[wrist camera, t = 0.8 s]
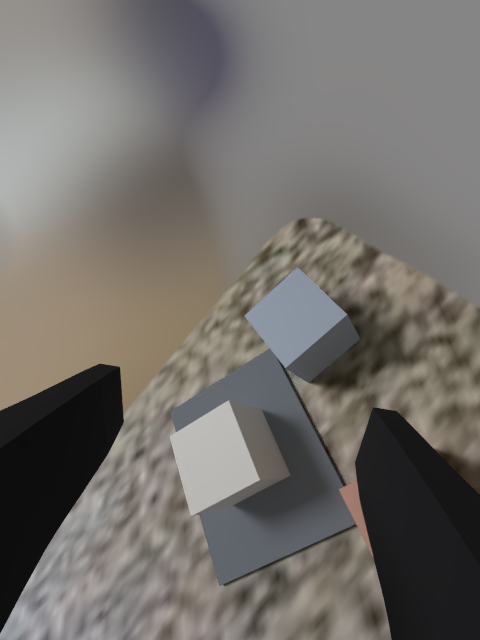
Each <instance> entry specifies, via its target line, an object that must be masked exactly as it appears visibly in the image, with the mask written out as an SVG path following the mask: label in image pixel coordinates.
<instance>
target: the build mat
mask: <svg viewBox="0 0 480 640" xmlns="http://www.w3.org/2000/svg"><path fill="white" fill-rule="evenodd" d="M228 400H229V401H233V402H237V403H240V404H244V405H247V406H251V407H254V408H258V409H261V410H262V412H263V414H264V416H265V418H266V421H267V423H268V425H269V427H270V430H271V432H272V434H273V436H274V439H275V441H276V443H277V445H278V448H279V450H280V452H281V454H282V457H283V459H284V461H285V463H286V466H287V468H288V470H289V472H290V475H291V476H289V477H287V478H285V479H283V480H281V481H279V482H277V483H275V484H273V485H271V486H269V487H267V488H266V489H264V490H262V491H260V492H258V493H256V494H254V495H252V496H250V497H248V498H246V499H244V500H242V501H240V502H239V503H237V504H235V505H233V506H229V507H225V508H221V509H217V510H213V511H210V512H206V513H202V514H199V515H200V518H201V522H202V525H203V529H204V532H205V536H206V539H207V543H208V547H209V550H210V554H211V557H212V561H213V564H214V568H215V571H216V575H217V578H218V582H219V586H221V585H223V584H225V583H227V582H229V581H232V580H234V579H236V578H238V577H240V576H243V575H245V574H247V573H249V572H251V571H254V570H256V569H258V568H260V567H262V566H265V565H267V564H269V563H271V562H273V561H276V560H278V559H280V558H282V557H284V556H287V555H289V554H291V553H293V552H295V551H298V550H300V549H302V548H304V547H306V546H309V545H311V544H313V543H315V542H317V541H320V540H322V539H324V538H326V537H328V536H331V535H333V534H335V533H337V532H339V531H342V530H344V529H346V528H348V527H351V526H353V525H355V524H356V523H355V521H354V519H353V517H352V515H351V513H350V511H349V509H348V507H347V505H346V503H345V501H344V499H343V497H342V495H341V493H340V491H339V489H340V488H343V487H344V485H343V483H342V481H341V479H340V477H339V475H338V473H337V471H336V469H335V467H334V465H333V463H332V462H331V460H330V458H329V456H328V454H327V452H326V450H325V448H324V446H323V444H322V442H321V440H320V438H319V437H318V435H317V433H316V431H315V429H314V427H313V425H312V423H311V421H310V419H309V417H308V415H307V413H306V412H305V410H304V408H303V406H302V404H301V402H300V400H299V398H298V396H297V394H296V392H295V390H294V388H293V387H292V385H291V383H290V381H289V379H288V377H287V375H286V373H285V371H284V369H283V367H282V365H281V363H280V362H279V360H278V358H277V357H276V356H275V354H274V353H273V352H272V350H271V349H268V350H267V351H265V352H263V353H262V354H260V355H259V356H257V357H256V358H254V359H252V360H251V361H249V362H248V363H246V364H245V365H243V366H241V367H240V368H238V369H237V370H235V371H234V372H232V373H230V374H229V375H227V376H226V377H224V378H223V379H221V380H219V381H218V382H216V383H215V384H213V385H211V386H210V387H208V388H207V389H205V390H204V391H202V392H200V393H199V394H197V395H196V396H194V397H193V398H191V399H189V400H188V401H186V402H185V403H183V404H182V405H180V406H178V407H177V408H175V409H174V410H172V411H171V415H172V419H173V422H174V426H175V429H176V432H178V431H179V430H181V429H183V428H184V427H186V426H187V425H189V424H191V423H192V422H194V421H196V420H197V419H199V418H200V417H202V416H204V415H205V414H207V413H209V412H210V411H212V410H214V409H215V408H217V407H218V406H220V405H222V404H223V403H225V402H227V401H228Z"/></svg>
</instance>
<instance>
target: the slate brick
mask: <svg viewBox="0 0 480 640" xmlns="http://www.w3.org/2000/svg"><path fill="white" fill-rule="evenodd" d="M245 317H246V319H247V320H248V321H249V322H250V324H251V325H252V326H253V327H254V329H255V330H256V331H257V333H258V334H259V335H260V336H261V338H262V339H263V340H264V342H265V343H266V344H267V345H268V347H269V348H270V349H271V350H272V352H273V353H274V354H275V356H276V357H277V358H278V359H279V361H280V362H281V363H282V364H283V366H284V367H285V368H286V369H288V370H289V371H291V372H292V373H294V374H295V375H297V376H299V377H300V378H302V379H303V380H305V381H306V382H308V383H310V382H311V381H312V380H313V379H314V378H315V377H317V376H318V375H319V374H320V373H321V372H323V371H324V370H325V369H326V368H327V367H328V366H330V365H331V364H332V363H333V362H334V361H335V360H337V359H338V358H339V357H340V356H341V355H343V354H344V353H345V352H346V351H347V350H348V349H350V348H351V347H352V346H353V345H354V344H355V343H357V342H358V341H359V340H360V337H359V335H358V333H357V332H356V330H355V328H354V326H353V324H352V322H351V320H350V318H349V317H348V315H347V314H346V313H345V312H344V311H343V310H342V309H341V308H340V307H339V306H338V305H337V304H336V303H335V302H334V301H333V300H332V299H330V298H329V297H328V296H327V295H326V294H325V293H324V292H323V291H322V290H321V289H320V288H319V287H318V286H317V285H316V284H315V283H314V282H313V281H311V280H310V279H309V278H308V277H307V276H306V275H305V274H304V273H303V272H302V271H301V270H300V269H299V268H298V267H297V268H296V269H295V270H294V271H293V272H292V273H291V274H290V275H289V276H287V277H286V278H285V279H284V280H283V281H282V282H281V283H280V284H279V285H278V286H277V287H275V288H274V289H273V290H272V291H271V292H270V293H269V294H268V295H267V296H266V297H265V298H263V299H262V300H261V301H260V302H259V303H258V304H257V305H256V306H255V307H254V308H253V309H251V310H250V311H249V312H248V313H247V314H246V315H245Z"/></svg>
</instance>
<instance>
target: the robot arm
mask: <svg viewBox="0 0 480 640" xmlns="http://www.w3.org/2000/svg"><path fill="white" fill-rule="evenodd" d="M123 422H124V419H123V406H122V390H121V376H120V367H117V366H111V365H104V364H98V365H96V366H93V367H91V368H89V369H87V370H85V371H83V372H80V373H78V374H76V375H75V376H72V377H70V378H68V379H66V380H64V381H62V382H60V383H58V384H56V385H54V386H52V387H50V388H48V389H46V390H44V391H42V392H40V393H38V394H36V395H34V396H32V397H29V398H27V399H26V400H23V401H21V402H19V403H17V404H14V405H13V406H10V407H8V408H5V409H3V410H1V411H0V633H1V631H2V629H3V627H4V625H5V623H6V621H7V620H8V618H9V616H10V614H11V612H12V610H13V608H14V606H15V604H16V602H17V600H18V599H19V597H20V595H21V593H22V591H23V589H24V587H25V586H26V584H27V582H28V580H29V578H30V577H31V575H32V573H33V571H34V569H35V567H36V566H37V564H38V562H39V560H40V558H41V557H42V555H43V553H44V551H45V549H46V548H47V546H48V544H49V543H50V541H51V540H52V538H53V536H54V535H55V533H56V532H57V530H58V528H59V527H60V525H61V524H62V522H63V521H64V519H65V518H66V516H67V515H68V513H69V512H70V510H71V509H72V507H73V506H74V504H75V503H76V501H77V500H78V498H79V497H80V495H81V494H82V492H83V491H84V489H85V488H86V486H87V485H88V483H89V482H90V481H91V479H92V477H93V476H94V474H95V473H96V471H97V470H98V468H99V467H100V465H101V464H102V462H103V461H104V459H105V458H106V456H107V454H108V453H109V451H110V449H111V447H112V445H113V443H114V441H115V439H116V437H117V435H118V433H119V431H120V429H121V427H122V425H123ZM355 466H356V475H357V484H358V491H359V499H360V504H361V508H362V512H363V516H364V520H365V525H366V529H367V533H368V537H369V541H370V545H371V549H372V553H373V557H374V561H375V565H376V569H377V573H378V577H379V581H380V585H381V589H382V593H383V597H384V602H385V606H386V611H387V616H388V621H389V626H390V632H391V638H392V640H480V494H479V493H478V492H477V491H476V490H474V489H473V488H472V487H471V486H470V485H469V484H468V483H467V482H466V481H465V480H464V479H463V478H462V477H461V476H460V475H459V474H458V473H457V472H456V471H455V470H454V469H453V468H452V467H451V466H450V465H449V464H448V463H447V462H446V461H445V460H444V459H443V458H442V457H441V456H440V455H439V454H438V453H437V452H436V451H435V450H434V449H433V448H432V447H431V446H430V445H429V444H428V442H427V441H426V440H425V439H424V438H423V437H422V436H421V435H420V434H419V433H418V432H417V431H416V430H415V429H414V428H413V427H412V426H411V425H410V424H409V423H408V422H407V421H406V420H405V419H404V418H403V417H402V416H401V415H400V414H399V413H398V412H397V411H392V410H386V409H380V408H374V407H373V410H372V413H371V416H370V419H369V422H368V425H367V428H366V431H365V434H364V437H363V440H362V443H361V446H360V449H359V452H358V455H357V458H356V461H355Z"/></svg>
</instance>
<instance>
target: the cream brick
mask: <svg viewBox="0 0 480 640" xmlns="http://www.w3.org/2000/svg"><path fill="white" fill-rule="evenodd" d="M170 440H171V443H172V447H173V451H174V455H175V458H176V462H177V466H178V469H179V473H180V477H181V481H182V484H183V488H184V492H185V496H186V499H187V503H188V507H189V510H190V514H191V516H194V515H198V514H202V513H206V512H210V511H213V510H217V509H221V508H225V507H229V506H233V505H235V504H237V503H239V502H240V501H242V500H244V499H246V498H248V497H250V496H252V495H254V494H256V493H258V492H260V491H262V490H264V489H266V488H267V487H269V486H271V485H273V484H275V483H277V482H279V481H281V480H283V479H285V478H287V477H289V476H291V475H290V472H289V470H288V468H287V466H286V463H285V461H284V459H283V457H282V454H281V452H280V450H279V448H278V445H277V443H276V441H275V439H274V436H273V434H272V432H271V430H270V427H269V425H268V423H267V421H266V418H265V416H264V414H263V412H262V410H261V409H258V408H254V407H251V406H247V405H244V404H240V403H237V402H233V401H229V400H228V401H227V402H225V403H223V404H222V405H220V406H218V407H217V408H215V409H214V410H212V411H210V412H209V413H207V414H205V415H204V416H202V417H200V418H199V419H197V420H196V421H194V422H192V423H191V424H189V425H187V426H186V427H184V428H183V429H181V430H179V431H178V432H176V433H174V434H173V435H171V436H170Z"/></svg>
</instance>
